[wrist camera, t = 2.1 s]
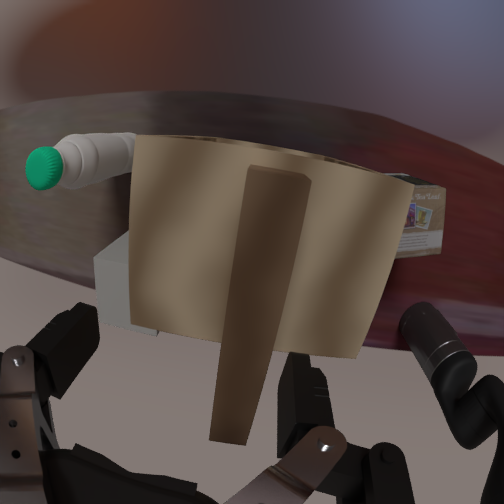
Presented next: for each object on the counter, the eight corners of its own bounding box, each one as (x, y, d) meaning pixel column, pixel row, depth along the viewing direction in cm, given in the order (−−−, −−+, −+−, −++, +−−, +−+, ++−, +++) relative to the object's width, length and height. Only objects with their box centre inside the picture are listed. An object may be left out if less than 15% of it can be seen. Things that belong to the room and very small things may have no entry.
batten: (303, 173, 17) (312, 180, 14) (247, 419, 25) (245, 445, 22) (250, 164, 17) (247, 169, 14) (213, 414, 25) (208, 440, 22)
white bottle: (148, 171, 49) (62, 201, 26) (113, 172, 49) (19, 203, 26) (147, 131, 47) (59, 132, 23) (112, 134, 47) (15, 142, 23)
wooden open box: (324, 155, 47) (414, 184, 17) (307, 235, 52) (355, 358, 22) (215, 137, 47) (135, 135, 17) (204, 218, 52) (130, 324, 22)
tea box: (325, 231, 52) (346, 265, 38) (323, 174, 48) (345, 188, 34) (403, 226, 51) (442, 256, 37) (404, 172, 47) (448, 186, 33)
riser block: (198, 217, 52) (157, 269, 31) (193, 264, 55) (156, 336, 34) (155, 211, 52) (93, 257, 31) (153, 257, 55) (99, 322, 34)
